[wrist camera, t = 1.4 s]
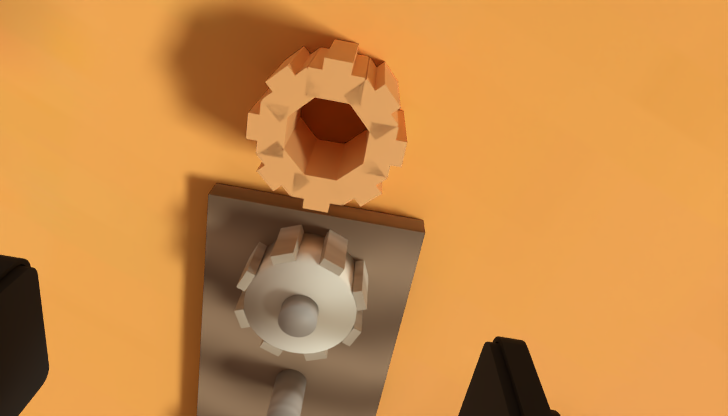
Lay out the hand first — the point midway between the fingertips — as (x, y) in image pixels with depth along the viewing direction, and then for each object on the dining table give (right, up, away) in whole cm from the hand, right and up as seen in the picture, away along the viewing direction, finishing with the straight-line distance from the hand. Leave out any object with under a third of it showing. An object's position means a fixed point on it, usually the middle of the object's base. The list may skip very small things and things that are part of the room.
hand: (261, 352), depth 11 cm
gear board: (-3, -8, +24) cm, 26 cm away
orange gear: (+1, +8, +16) cm, 18 cm away
